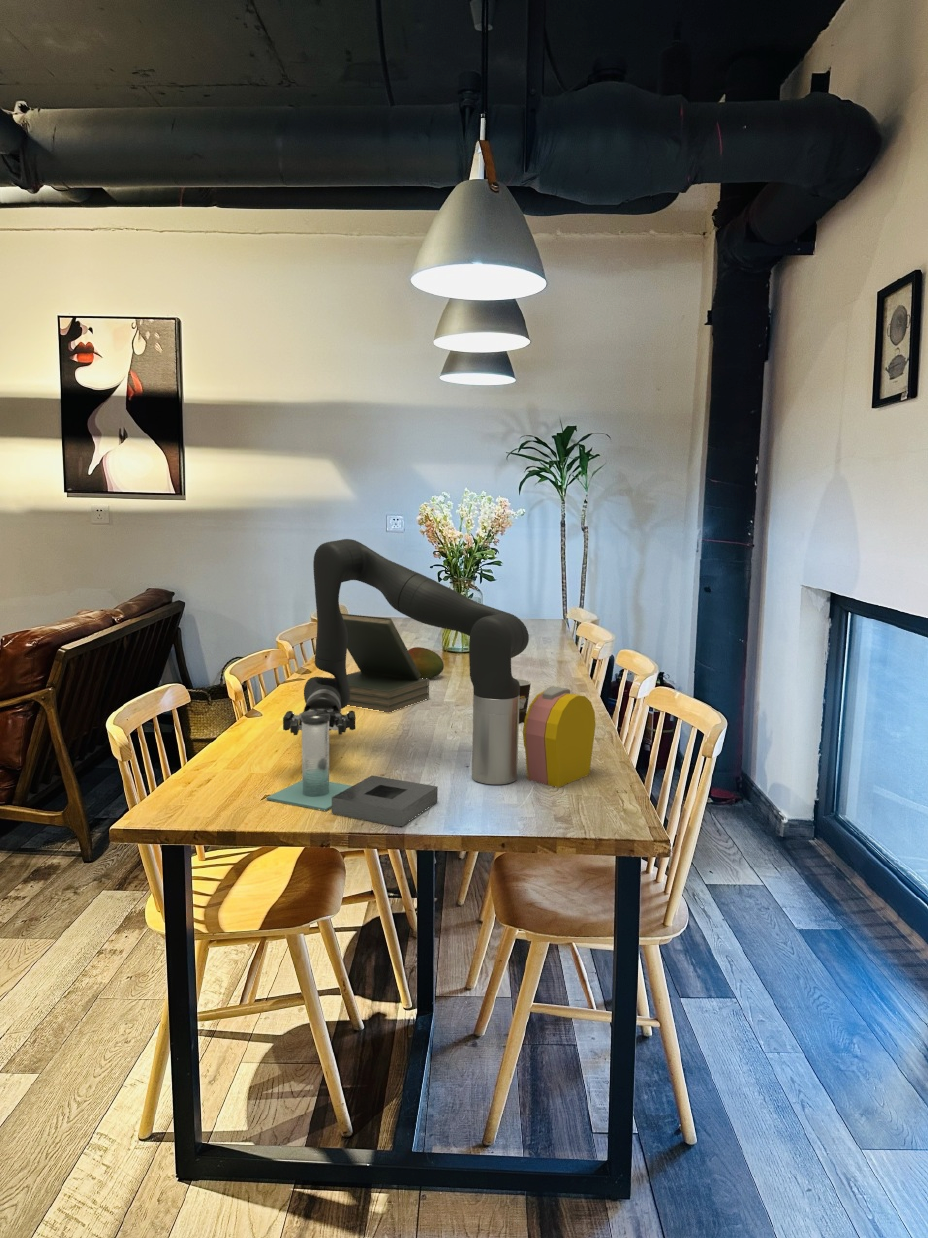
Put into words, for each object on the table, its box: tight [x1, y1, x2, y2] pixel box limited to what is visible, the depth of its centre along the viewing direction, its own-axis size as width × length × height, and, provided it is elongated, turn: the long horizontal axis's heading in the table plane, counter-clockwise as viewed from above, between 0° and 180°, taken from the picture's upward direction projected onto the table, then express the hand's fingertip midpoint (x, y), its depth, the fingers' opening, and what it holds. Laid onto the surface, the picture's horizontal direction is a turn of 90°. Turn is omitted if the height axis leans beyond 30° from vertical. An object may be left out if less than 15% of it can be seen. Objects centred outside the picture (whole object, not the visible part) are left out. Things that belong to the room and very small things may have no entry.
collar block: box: [331, 775, 439, 827], centre depth 156 cm, size 14×14×3 cm
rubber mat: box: [265, 779, 353, 812], centre depth 162 cm, size 13×13×1 cm
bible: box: [341, 613, 430, 713], centre depth 238 cm, size 23×20×25 cm
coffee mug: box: [516, 678, 532, 724], centre depth 220 cm, size 12×9×10 cm
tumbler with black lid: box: [301, 711, 330, 797], centre depth 161 cm, size 5×5×15 cm
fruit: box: [407, 646, 445, 679], centre depth 271 cm, size 12×12×10 cm
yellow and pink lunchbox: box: [522, 685, 596, 788], centre depth 175 cm, size 15×8×18 cm, turn 141°
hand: (317, 730), depth 166 cm, fingers open, 8 cm apart
